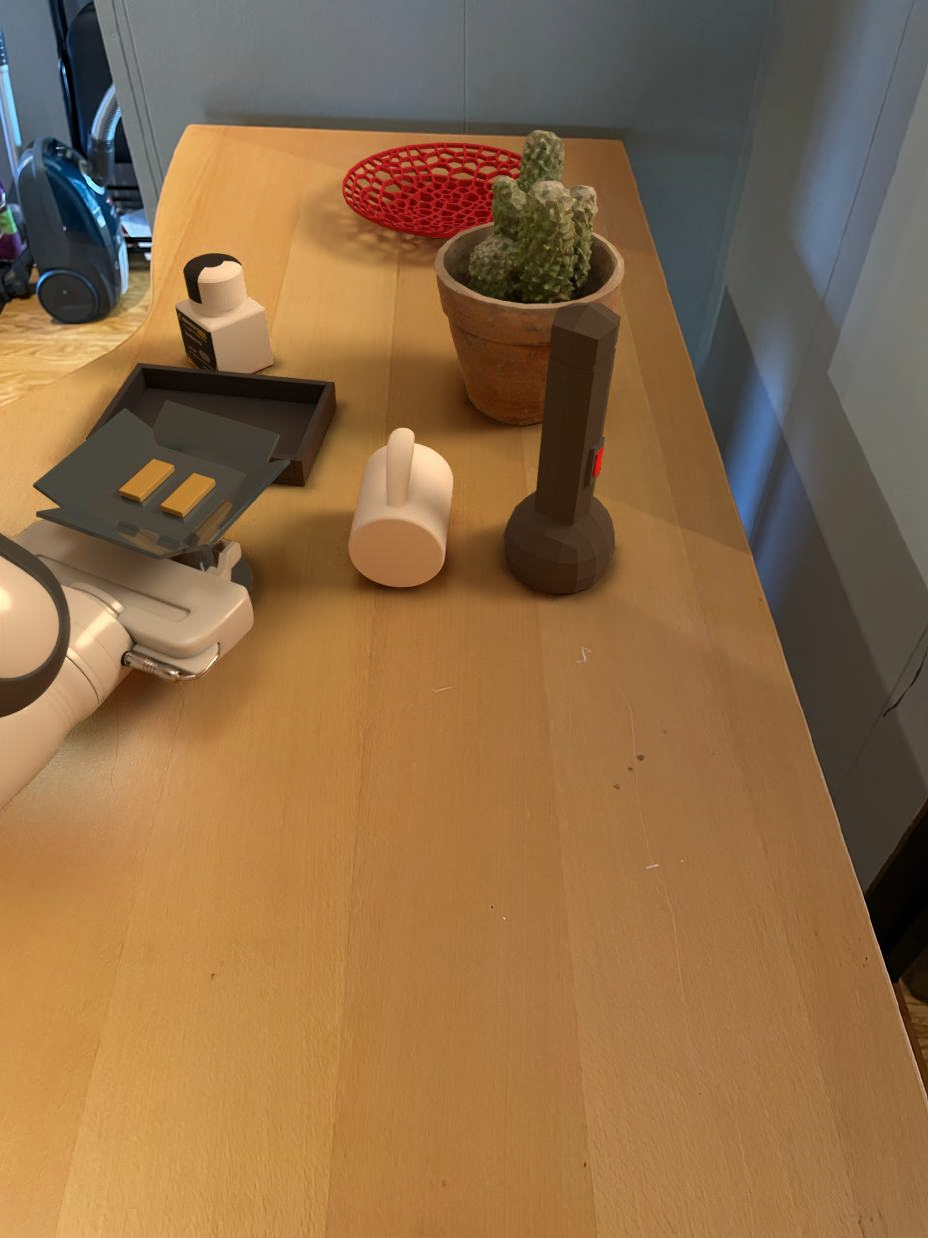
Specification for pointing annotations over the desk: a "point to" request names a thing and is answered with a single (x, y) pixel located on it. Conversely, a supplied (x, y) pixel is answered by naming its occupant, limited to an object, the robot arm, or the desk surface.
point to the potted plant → (523, 281)
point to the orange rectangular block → (147, 480)
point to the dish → (164, 484)
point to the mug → (402, 513)
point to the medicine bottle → (222, 318)
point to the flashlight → (569, 460)
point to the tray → (237, 406)
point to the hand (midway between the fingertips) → (185, 529)
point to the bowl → (429, 189)
